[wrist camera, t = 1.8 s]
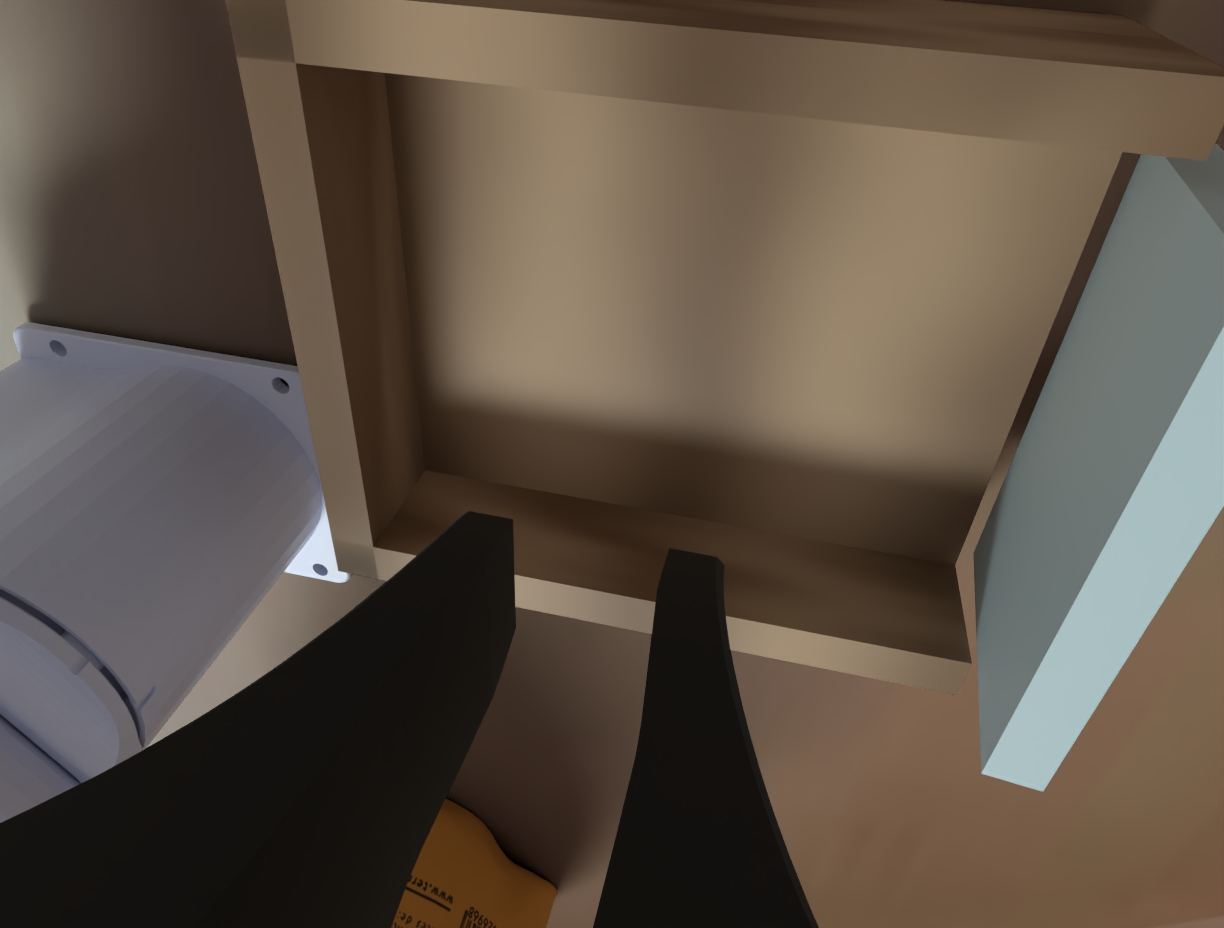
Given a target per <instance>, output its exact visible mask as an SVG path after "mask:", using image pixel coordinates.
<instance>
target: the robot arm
mask: <svg viewBox="0 0 1224 928" xmlns="http://www.w3.org/2000/svg"><path fill="white" fill-rule="evenodd" d="M13 337H14V341H15V344H16V346H17V348H18V351H19V353H20V355H21V358H22V359H20V360H19V361H17V362H15V363H14V364H12V365H10V366H9V367H7V368H5V369H4V370H2V371H0V928H391V927H392V924H393V921H394V919H395V916H396V913H397V910H398V908H399V905H400V902H401V899H402V897H403V894H404V891H405V888H406V886H407V883H408V881H409V878H410V876H411V873H412V871H413V869H414V866H415V864H416V862H417V859H418V857H419V854H420V852H421V850H422V847H423V845H424V843H425V841H426V839H427V837H428V835H429V833H430V830H431V828H432V826H433V824H434V822H435V820H436V818H437V816H438V813H439V811H440V809H441V807H442V805H443V803H444V801H445V799H446V796H447V794H448V792H449V790H450V788H451V786H452V784H453V782H454V779H455V777H456V775H457V773H458V771H459V769H460V767H461V765H462V762H463V760H464V758H465V756H466V754H467V752H468V750H469V748H470V745H471V743H472V741H473V739H474V737H475V735H476V732H477V730H478V728H479V726H480V724H481V722H482V720H483V717H484V715H485V713H486V711H487V709H488V706H489V704H490V702H491V700H492V698H493V695H494V692H495V689H496V686H497V683H498V681H499V678H500V675H501V672H502V669H503V666H504V663H505V660H506V657H507V653H508V650H509V647H510V644H511V641H512V638H513V635H514V632H515V629H516V614H515V575H514V535H513V519H510V518H504V517H499V516H493V515H488V514H483V513H477V512H472V511H468V512H467V513H465V514H464V515H462V516H461V517H460V518H459V519H457V520H456V521H455V522H454V523H453V524H452V525H451V526H450V527H448V528H447V529H446V530H445V531H444V532H443V533H442V534H441V535H439V536H438V537H437V538H436V539H435V540H434V541H433V542H432V543H430V544H429V545H428V546H427V547H426V548H425V549H424V550H423V551H421V552H420V553H419V554H418V555H417V556H416V557H415V558H413V559H412V560H411V561H410V562H409V563H408V564H407V565H405V566H404V567H403V568H402V569H401V570H400V571H398V572H397V573H396V574H395V575H394V576H393V577H391V578H390V579H389V580H388V581H387V582H385V583H384V584H383V585H382V586H381V587H379V588H378V589H377V590H376V591H374V592H373V593H372V594H371V595H370V596H368V597H367V598H366V599H365V600H364V601H362V602H361V603H360V604H359V605H357V606H356V607H355V608H354V609H353V610H351V611H350V612H349V613H348V614H346V615H345V616H344V617H343V618H341V619H340V620H339V621H338V622H336V623H335V624H334V625H332V626H331V627H330V628H328V629H327V630H326V631H324V632H323V633H322V634H320V635H319V636H318V637H316V638H315V639H314V640H312V641H311V642H310V643H308V644H307V645H305V646H304V647H303V648H301V649H300V650H299V651H297V652H296V653H295V654H293V655H292V656H291V657H289V658H288V659H287V660H285V661H284V662H283V663H281V664H280V665H278V666H277V667H275V668H274V669H273V670H271V671H270V672H268V673H267V674H265V675H264V676H262V677H261V678H260V679H258V680H257V681H255V682H254V683H252V684H251V685H249V686H248V687H246V688H245V689H243V690H242V691H240V692H239V693H237V694H235V695H234V696H232V697H231V698H229V699H228V700H226V701H225V702H223V703H221V704H220V705H218V706H217V707H215V708H214V709H212V710H210V711H209V712H207V713H206V714H204V715H202V716H201V717H199V718H198V719H196V720H194V721H192V722H191V723H189V724H187V725H186V726H184V727H182V728H180V729H179V730H177V731H175V732H174V733H172V734H170V735H168V736H167V737H165V738H163V739H162V740H160V741H158V742H157V743H155V744H153V745H151V746H149V747H148V748H146V747H147V746H148V745H149V744H150V742H151V741H152V740H153V738H154V737H155V736H156V735H157V733H158V732H159V731H160V730H161V728H162V727H163V726H164V724H165V723H166V722H167V721H168V719H169V718H170V717H171V715H172V714H173V713H174V712H175V710H176V709H177V708H178V707H179V705H180V704H181V703H182V701H183V700H184V699H185V698H186V696H187V695H188V694H189V692H190V691H191V690H192V689H193V687H194V686H195V685H196V684H197V682H198V681H199V680H200V678H201V677H202V676H203V675H204V673H205V672H206V671H207V669H208V668H209V667H210V666H211V664H212V663H213V662H214V660H215V659H216V658H217V657H218V655H219V654H220V653H221V652H222V650H223V649H224V648H225V646H226V645H227V644H228V643H229V641H230V640H231V639H232V637H233V636H234V635H235V634H236V632H237V631H238V630H239V629H240V627H241V626H242V625H243V623H244V622H245V621H246V620H247V618H248V617H249V616H250V614H251V613H252V612H253V611H254V609H255V608H256V607H257V606H258V604H259V603H260V602H261V600H262V599H263V598H264V597H265V595H266V594H267V593H268V591H269V590H270V589H271V588H272V586H273V585H274V584H275V583H276V581H277V580H278V579H279V577H280V576H281V575H282V574H283V572H287V573H292V574H297V575H302V576H307V577H312V578H317V579H322V580H327V581H332V582H338V583H343V582H346V581H347V580H348V579H349V578H350V576H351V575H352V574H350V573H345V572H340V571H338V567H337V562H336V557H335V552H334V547H333V542H332V537H331V532H330V527H329V522H328V517H327V512H326V507H325V502H324V496H323V491H322V486H321V481H320V476H319V471H318V466H317V461H316V456H315V451H314V446H313V441H312V436H311V431H310V426H309V421H308V416H307V411H306V406H305V401H304V396H303V391H302V386H301V381H300V376H299V370H298V366H293V365H287V364H281V363H275V362H269V361H263V360H257V359H250V358H244V357H238V356H232V355H226V354H220V353H214V352H208V351H202V350H196V349H189V348H183V347H177V346H171V345H165V344H159V343H153V342H147V341H141V340H135V339H128V338H122V337H116V336H110V335H104V334H98V333H92V332H86V331H80V330H74V329H67V328H61V327H55V326H49V325H43V324H37V323H24V324H23V325H21V326H19V327H17V328H16V329H15V330H14V332H13ZM63 345H64V346H63ZM280 378H282V379H284V380H285V381H286V382H287V383H288V385H289V386H286V385H285V384H283V383H282V382H281V380H280ZM593 928H819V927H818V925H817V923H816V920H815V918H814V916H813V914H812V911H811V909H810V906H809V904H808V902H807V899H806V896H805V894H804V891H803V889H802V886H801V884H800V881H799V879H798V876H797V874H796V871H795V869H794V866H793V864H792V861H791V859H790V856H789V853H788V851H787V848H786V845H785V842H784V840H783V837H782V834H781V831H780V829H779V826H778V823H777V820H776V818H775V815H774V812H773V809H772V806H771V803H770V800H769V797H768V794H767V791H766V788H765V784H764V781H763V778H762V775H761V772H760V768H759V765H758V761H757V758H756V755H755V751H754V748H753V744H752V741H751V737H750V734H749V730H748V726H747V722H746V718H745V714H744V711H743V706H742V702H741V697H740V693H739V688H738V684H737V679H736V675H735V670H734V666H733V661H732V655H731V650H730V644H729V637H728V630H727V623H726V615H725V605H724V564H723V563H722V562H721V561H720V560H719V558H718V557H715V556H710V555H704V554H699V553H693V552H688V551H682V550H677V549H672V548H669V551H668V554H667V557H666V560H665V564H664V567H663V570H662V574H661V577H660V581H659V584H658V588H657V595H656V603H655V612H654V620H653V629H652V637H651V646H650V654H649V663H648V671H647V680H646V688H645V696H644V705H643V713H642V722H641V728H640V734H639V740H638V746H637V751H636V757H635V761H634V765H633V769H632V774H631V778H630V782H629V786H628V790H627V794H626V798H625V802H624V806H623V810H622V814H621V819H620V823H619V827H618V831H617V835H616V839H615V843H614V847H613V851H612V855H611V859H610V863H609V867H608V871H607V875H606V879H605V883H604V886H603V890H602V894H601V898H600V902H599V906H598V910H597V914H596V918H595V922H594V926H593Z"/></svg>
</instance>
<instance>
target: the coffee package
mask: <svg viewBox="0 0 1224 928" xmlns="http://www.w3.org/2000/svg"><path fill="white" fill-rule="evenodd" d="M556 893H557V890H556V889H555V887H554V886H553V885H552V884H551V883H549V882H548V881H546V880H544V879H542V878H541V877H539V876H537V875H536V874H534V873H532V872H530V871H528V870H526V869H524V868H522V867H519V866H518V865H516V864H514V863H513V862H512V861H510V860H509V859H508V858H507V857H506V856H505V854H504V853H503V852H502V850H501V849H500V847H499V846H498V844H497V843H496V841H495V839H494V837H493V835H492V834H491V832H490V831H489V829H488V828H487V827H486V826H485V824H484V823H483V822H482V821H481V820H480V819H479V818H477V817H476V816H475V815H474V814H472V813H471V812H469V811H468V810H466V809H464V808H463V807H461V806H459V805H457V804H455V803H453V802H451V801H450V800H448V799H445V801H444V803H443V805H442V807H441V809H440V811H439V813H438V816H437V818H436V820H435V822H434V824H433V826H432V828H431V830H430V833H429V835H428V837H427V839H426V841H425V843H424V845H423V847H422V850H421V852H420V854H419V857H418V859H417V862H416V864H415V866H414V869H413V871H412V873H411V876H410V878H409V881H408V883H407V886H406V888H405V891H404V894H403V897H402V899H401V902H400V905H399V908H398V910H397V913H396V916H395V919H394V921H393V924H392V927H391V928H546V926H547V923H548V919H549V916H550V912H551V909H552V906H553V902H554V899H555V896H556Z"/></svg>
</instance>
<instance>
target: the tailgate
mask: <svg viewBox="0 0 1224 928" xmlns="http://www.w3.org/2000/svg"><path fill="white" fill-rule="evenodd" d="M1223 506H1224V151H1223V150H1222V149H1221V148H1220V147H1219V146H1218V145H1217V144H1215V145H1214V147H1213V149H1212V151H1211V153H1210V155H1209V158H1208V160H1207V161H1201V160H1192V159H1183V158H1173V157H1164V156H1155V155H1146V154H1141V155H1140V158H1139V160H1138V162H1137V165H1136V167H1135V170H1134V172H1133V174H1132V177H1131V179H1130V182H1129V184H1128V186H1127V189H1126V191H1125V193H1124V196H1123V198H1122V201H1121V203H1120V205H1119V208H1118V210H1117V213H1116V215H1115V217H1114V220H1113V222H1112V224H1111V227H1110V229H1109V232H1108V234H1107V236H1106V239H1105V241H1104V244H1103V246H1102V248H1101V251H1100V253H1099V255H1098V258H1097V260H1096V263H1095V265H1094V267H1093V270H1092V272H1091V275H1090V277H1089V279H1088V282H1087V284H1086V286H1085V289H1084V291H1083V294H1082V296H1081V298H1080V301H1079V303H1078V306H1077V308H1076V310H1075V313H1074V315H1073V317H1072V320H1071V322H1070V325H1069V327H1068V329H1067V332H1066V334H1065V337H1064V339H1063V341H1062V344H1061V346H1060V348H1059V351H1058V353H1057V356H1056V358H1055V360H1054V363H1053V365H1052V368H1051V370H1050V372H1049V375H1048V377H1047V379H1046V382H1045V384H1044V387H1043V389H1042V391H1041V394H1040V396H1039V399H1038V401H1037V403H1036V406H1035V408H1034V410H1033V413H1032V415H1031V418H1030V420H1029V422H1028V425H1027V427H1026V430H1025V432H1024V434H1023V437H1022V439H1021V441H1020V444H1019V446H1018V449H1017V451H1016V453H1015V456H1014V458H1013V461H1012V463H1011V465H1010V468H1009V470H1008V472H1007V475H1006V477H1005V480H1004V482H1003V484H1002V487H1001V489H1000V492H999V494H998V496H997V499H996V501H995V503H994V506H993V508H992V511H991V513H990V515H989V518H988V520H987V523H986V525H985V527H984V530H983V532H982V534H981V537H980V539H979V542H978V544H977V546H976V549H975V551H974V578H975V607H976V635H977V664H978V692H979V721H980V750H981V773H982V774H985V775H989V776H992V777H995V778H999V779H1002V780H1005V781H1009V782H1012V783H1016V784H1019V785H1022V786H1026V787H1029V788H1032V789H1036V790H1039V791H1044V789H1045V788H1046V786H1047V784H1048V783H1049V781H1050V780H1051V778H1052V777H1053V775H1054V773H1055V772H1056V770H1057V769H1058V767H1059V765H1060V764H1061V762H1062V761H1063V759H1064V758H1065V756H1066V754H1067V753H1068V751H1069V750H1070V748H1071V746H1072V745H1073V743H1074V742H1075V740H1076V739H1077V737H1078V735H1079V734H1080V732H1081V731H1082V729H1083V727H1084V726H1085V724H1086V723H1087V721H1088V720H1089V718H1090V716H1091V715H1092V713H1093V712H1094V710H1095V708H1096V707H1097V705H1098V704H1099V702H1100V701H1101V699H1102V697H1103V696H1104V694H1105V693H1106V691H1107V690H1108V688H1109V686H1110V685H1111V683H1112V682H1113V680H1114V678H1115V677H1116V675H1117V674H1118V672H1119V671H1120V669H1121V667H1122V666H1123V664H1124V663H1125V661H1126V659H1127V658H1128V656H1129V655H1130V653H1131V652H1132V650H1133V648H1134V647H1135V645H1136V644H1137V642H1138V640H1139V639H1140V637H1141V636H1142V634H1143V633H1144V631H1145V629H1146V628H1147V626H1148V625H1149V623H1150V621H1151V620H1152V618H1153V617H1154V615H1155V614H1156V612H1157V610H1158V609H1159V607H1160V606H1161V604H1162V602H1163V601H1164V599H1165V598H1166V596H1167V595H1168V593H1169V591H1170V590H1171V588H1172V587H1173V585H1174V584H1175V582H1176V580H1177V579H1178V577H1179V576H1180V574H1181V572H1182V571H1183V569H1184V568H1185V566H1186V565H1187V563H1188V561H1189V560H1190V558H1191V557H1192V555H1193V553H1194V552H1195V550H1196V549H1197V547H1198V546H1199V544H1200V542H1201V541H1202V539H1203V538H1204V536H1205V534H1206V533H1207V531H1208V530H1209V528H1210V527H1211V525H1212V523H1213V522H1214V520H1215V519H1216V517H1217V515H1218V514H1219V512H1220V511H1221V509H1222V508H1223Z"/></svg>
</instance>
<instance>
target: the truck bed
mask: <svg viewBox="0 0 1224 928" xmlns="http://www.w3.org/2000/svg"><path fill="white" fill-rule="evenodd" d="M225 3H226V8H227V13H228V18H229V23H230V28H231V33H232V38H233V43H234V48H235V53H236V58H237V63H238V68H239V73H240V78H241V83H242V88H243V93H244V98H245V103H246V108H247V113H248V119H249V124H250V129H251V134H252V139H253V144H254V149H255V154H256V159H257V164H258V169H259V174H260V179H261V184H262V189H263V194H264V199H265V204H266V209H267V214H268V219H269V224H270V229H271V234H272V239H273V245H274V250H275V255H276V260H277V265H278V270H279V275H280V280H281V285H282V290H283V295H284V300H285V305H286V310H287V315H288V320H289V325H290V330H291V335H292V340H293V345H294V350H295V355H296V360H297V365H298V370H299V376H300V381H301V386H302V391H303V396H304V401H305V406H306V411H307V416H308V421H309V426H310V431H311V436H312V441H313V446H314V451H315V456H316V461H317V466H318V471H319V476H320V481H321V486H322V491H323V496H324V502H325V507H326V512H327V517H328V522H329V527H330V532H331V537H332V542H333V547H334V552H335V557H336V562H337V567H338V571H340V572H345V573H350V574H355V575H360V576H365V577H370V578H375V579H380V580H385V581H388V580H389V579H390V578H391V577H393V576H394V575H395V574H396V573H397V572H398V571H400V570H401V569H402V568H403V567H404V566H405V565H407V564H408V563H409V562H410V561H411V560H412V559H413V558H415V557H416V556H417V555H418V554H419V553H420V552H421V551H423V550H424V549H425V548H426V547H427V546H428V545H429V544H430V543H432V542H433V541H434V540H435V539H436V538H437V537H438V536H439V535H441V534H442V533H443V532H444V531H445V530H446V529H447V528H448V527H450V526H451V525H452V524H453V523H454V522H455V521H456V520H457V519H459V518H460V517H461V516H462V515H464V514H465V513H467V512H468V511H472V512H477V513H483V514H488V515H493V516H499V517H504V518H510V519H513V535H514V575H515V607H520V608H524V609H529V610H534V611H539V612H544V613H549V614H554V615H559V616H564V617H569V618H574V619H579V620H584V621H589V622H594V623H599V624H604V625H609V626H614V627H619V628H624V629H629V630H634V631H639V632H644V633H649V634H652V629H653V620H654V612H655V603H656V595H657V588H658V584H659V581H660V577H661V574H662V570H663V567H664V564H665V560H666V557H667V554H668V551H669V548H672V549H677V550H682V551H688V552H693V553H699V554H704V555H710V556H715V557H718V558H719V560H720V561H721V562H722V563H723V564H724V605H725V615H726V623H727V630H728V637H729V644H730V650H734V651H739V652H744V653H749V654H754V655H759V656H764V657H769V658H774V659H779V660H784V661H789V662H794V663H799V664H804V665H809V666H814V667H819V668H824V669H829V670H834V671H838V672H843V673H848V674H853V675H858V676H863V677H868V678H873V679H878V680H883V681H888V682H893V683H898V684H903V685H908V686H913V687H918V688H923V689H928V690H933V691H938V692H943V693H948V694H953V695H957V694H958V692H959V690H960V688H961V686H962V684H963V682H964V679H965V677H966V675H967V673H968V671H969V669H970V667H971V664H972V662H971V656H970V650H969V644H968V639H967V633H966V627H965V621H964V615H963V609H962V603H961V597H960V592H959V586H958V580H957V574H956V568H955V564H956V561H957V559H958V556H959V554H960V552H961V549H962V547H963V544H964V542H965V539H966V537H967V534H968V532H969V529H970V527H971V524H972V522H973V520H974V517H975V515H976V512H977V510H978V507H979V505H980V502H981V500H982V497H983V495H984V492H985V490H986V488H987V485H988V483H989V480H990V478H991V475H992V473H993V470H994V468H995V465H996V463H997V460H998V458H999V456H1000V453H1001V451H1002V448H1003V446H1004V443H1005V441H1006V438H1007V436H1008V433H1009V431H1010V428H1011V426H1012V423H1013V421H1014V419H1015V416H1016V414H1017V411H1018V409H1019V406H1020V404H1021V401H1022V399H1023V396H1024V394H1025V391H1026V389H1027V387H1028V384H1029V382H1030V379H1031V377H1032V374H1033V372H1034V369H1035V367H1036V364H1037V362H1038V359H1039V357H1040V355H1041V352H1042V350H1043V347H1044V345H1045V342H1046V340H1047V337H1048V335H1049V332H1050V330H1051V327H1052V325H1053V322H1054V320H1055V318H1056V315H1057V313H1058V310H1059V308H1060V305H1061V303H1062V300H1063V298H1064V295H1065V293H1066V290H1067V288H1068V286H1069V283H1070V281H1071V278H1072V276H1073V273H1074V271H1075V268H1076V266H1077V263H1078V261H1079V258H1080V256H1081V254H1082V251H1083V249H1084V246H1085V244H1086V241H1087V239H1088V236H1089V234H1090V231H1091V229H1092V226H1093V224H1094V222H1095V219H1096V217H1097V214H1098V212H1099V209H1100V207H1101V204H1102V202H1103V199H1104V197H1105V194H1106V192H1107V189H1108V187H1109V185H1110V182H1111V180H1112V177H1113V175H1114V172H1115V170H1116V167H1117V165H1118V162H1119V160H1120V157H1121V155H1122V153H1123V152H1127V153H1136V154H1146V155H1155V156H1164V157H1173V158H1183V159H1192V160H1201V161H1207V160H1208V158H1209V155H1210V153H1211V151H1212V149H1213V147H1214V145H1215V143H1216V141H1217V138H1218V136H1219V134H1220V132H1221V130H1222V128H1223V126H1224V68H1223V67H1221V66H1219V65H1217V64H1216V63H1214V62H1212V61H1210V60H1208V59H1206V58H1204V57H1202V56H1200V55H1198V54H1196V53H1194V52H1192V51H1191V50H1189V49H1187V48H1185V47H1183V46H1181V45H1179V44H1177V43H1175V42H1173V41H1171V40H1169V39H1167V38H1166V37H1164V36H1162V35H1160V34H1158V33H1156V32H1154V31H1152V30H1150V29H1148V28H1146V27H1144V26H1143V25H1141V24H1139V23H1137V22H1135V21H1133V20H1131V19H1129V18H1127V17H1125V16H1121V15H1110V14H1098V13H1086V12H1074V11H1063V10H1051V9H1039V8H1028V7H1016V6H1004V5H992V4H981V3H969V2H957V1H946V0H225Z"/></svg>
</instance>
